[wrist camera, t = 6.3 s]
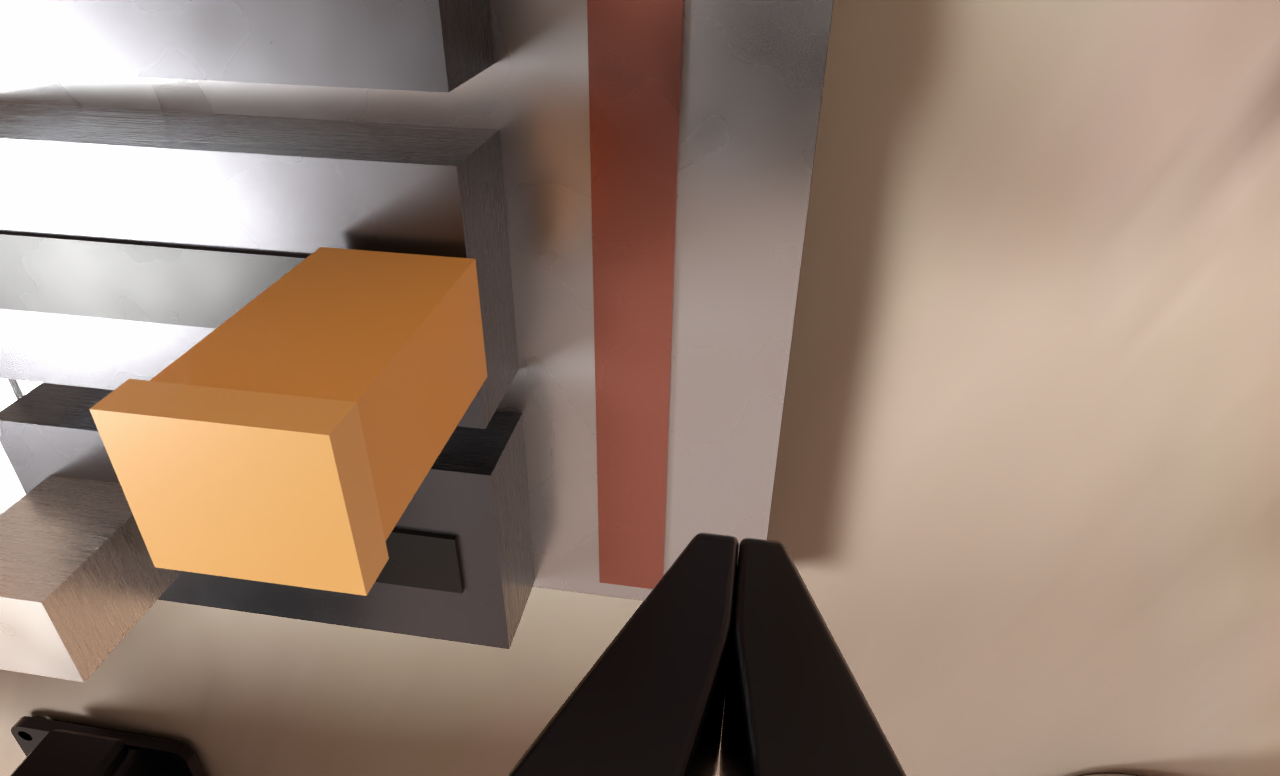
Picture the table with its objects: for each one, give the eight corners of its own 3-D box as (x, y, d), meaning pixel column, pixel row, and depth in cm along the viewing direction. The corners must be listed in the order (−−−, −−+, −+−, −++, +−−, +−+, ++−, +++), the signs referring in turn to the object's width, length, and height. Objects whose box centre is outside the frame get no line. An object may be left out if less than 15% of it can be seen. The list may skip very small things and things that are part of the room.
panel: (759, 567, 19) (744, 840, 14) (4, 475, 22) (-258, 673, 16) (868, -326, 11) (938, -528, 5) (-391, -303, 13) (-1205, -424, 8)
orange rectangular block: (493, 382, 13) (366, 595, 9) (339, 367, 13) (154, 566, 10) (482, 252, 12) (328, 435, 8) (312, 240, 12) (88, 409, 8)
